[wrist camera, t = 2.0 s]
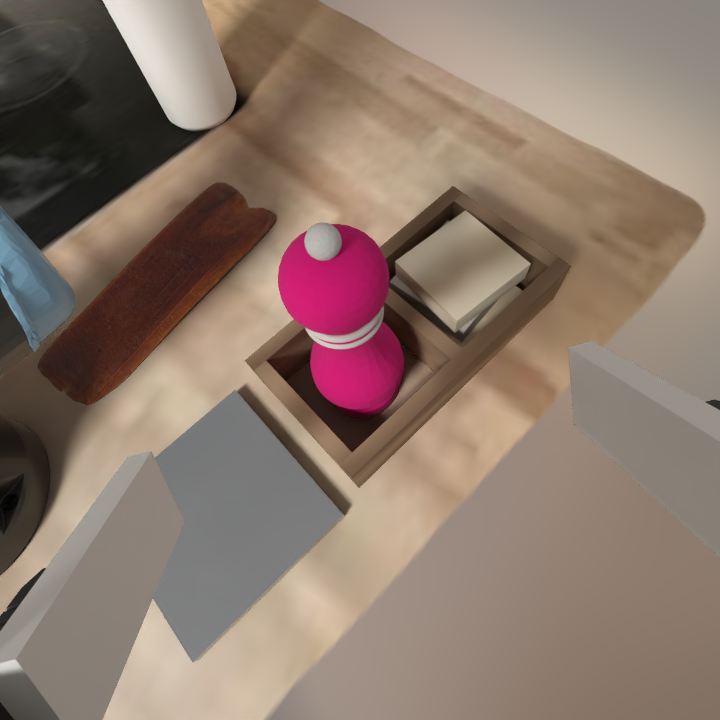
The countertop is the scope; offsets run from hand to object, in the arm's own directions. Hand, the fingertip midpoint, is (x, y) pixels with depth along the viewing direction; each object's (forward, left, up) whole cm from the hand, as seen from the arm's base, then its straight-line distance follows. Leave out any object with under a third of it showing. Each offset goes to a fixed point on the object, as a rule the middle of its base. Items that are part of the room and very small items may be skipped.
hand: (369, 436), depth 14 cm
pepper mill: (-9, +5, -23) cm, 25 cm away
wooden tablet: (-31, -2, -23) cm, 39 cm away
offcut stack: (-9, +16, -23) cm, 29 cm away
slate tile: (-9, -10, -23) cm, 26 cm away
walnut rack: (-9, +11, -23) cm, 27 cm away
